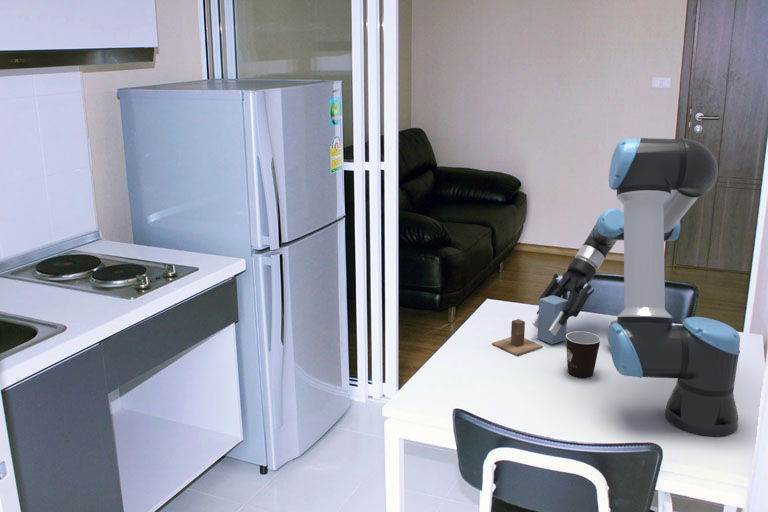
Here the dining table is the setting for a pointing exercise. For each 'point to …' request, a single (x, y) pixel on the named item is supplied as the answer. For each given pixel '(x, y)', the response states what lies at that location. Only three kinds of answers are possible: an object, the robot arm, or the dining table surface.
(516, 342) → the square wooden base plate
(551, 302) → the pale blue tall brick
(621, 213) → the robot arm
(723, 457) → the dining table surface
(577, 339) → the coffee mug
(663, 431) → the dining table surface
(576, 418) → the dining table surface
